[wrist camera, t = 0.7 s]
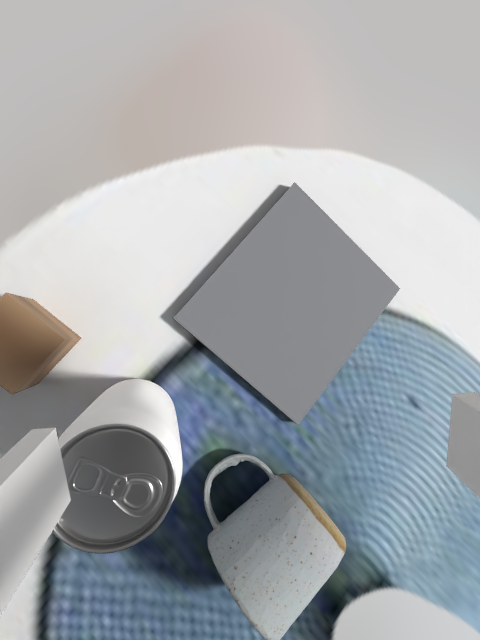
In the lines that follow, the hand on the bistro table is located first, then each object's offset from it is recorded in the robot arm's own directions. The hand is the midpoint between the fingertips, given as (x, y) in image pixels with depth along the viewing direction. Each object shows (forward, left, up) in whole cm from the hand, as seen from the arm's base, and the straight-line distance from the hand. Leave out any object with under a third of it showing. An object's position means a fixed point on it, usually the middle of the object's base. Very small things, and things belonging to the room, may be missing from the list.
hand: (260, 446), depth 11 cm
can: (-6, +2, -17) cm, 18 cm away
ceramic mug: (-6, -11, -17) cm, 21 cm away
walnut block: (-6, +12, -17) cm, 21 cm away
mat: (+10, -2, -17) cm, 20 cm away
